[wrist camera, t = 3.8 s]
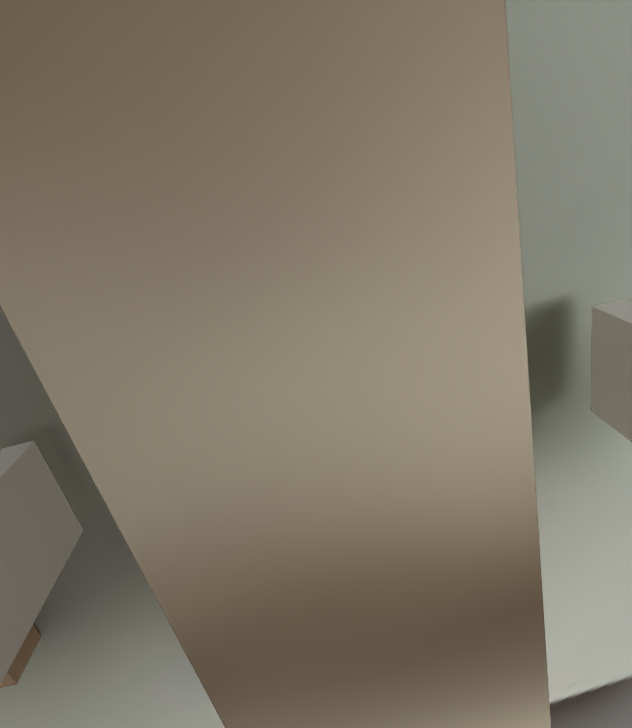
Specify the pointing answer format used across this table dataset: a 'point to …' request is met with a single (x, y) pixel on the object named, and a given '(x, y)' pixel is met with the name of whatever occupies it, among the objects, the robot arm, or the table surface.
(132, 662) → the table surface
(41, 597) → the robot arm
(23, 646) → the wooden block assembly
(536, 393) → the table surface
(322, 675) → the cream wooden block
